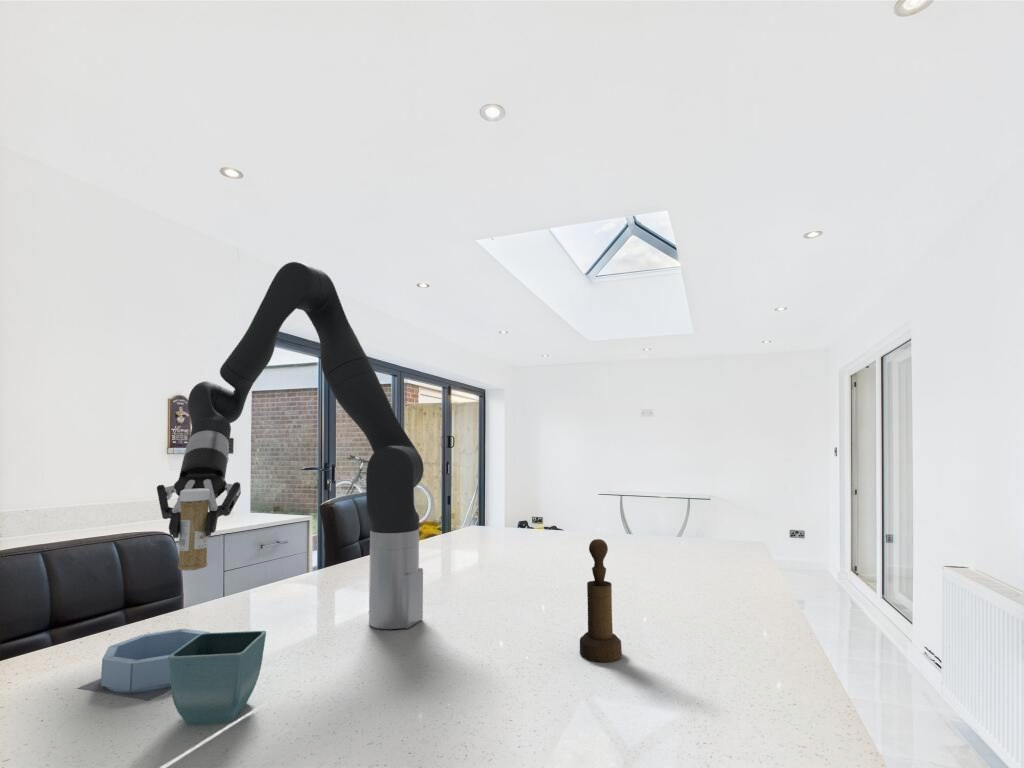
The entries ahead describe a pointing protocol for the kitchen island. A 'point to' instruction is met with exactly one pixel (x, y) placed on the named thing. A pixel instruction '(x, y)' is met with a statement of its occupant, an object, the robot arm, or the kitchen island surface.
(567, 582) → the kitchen island surface
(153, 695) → the mat
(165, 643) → the bowl
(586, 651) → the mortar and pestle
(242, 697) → the flower pot
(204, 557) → the sprinkles bottle
